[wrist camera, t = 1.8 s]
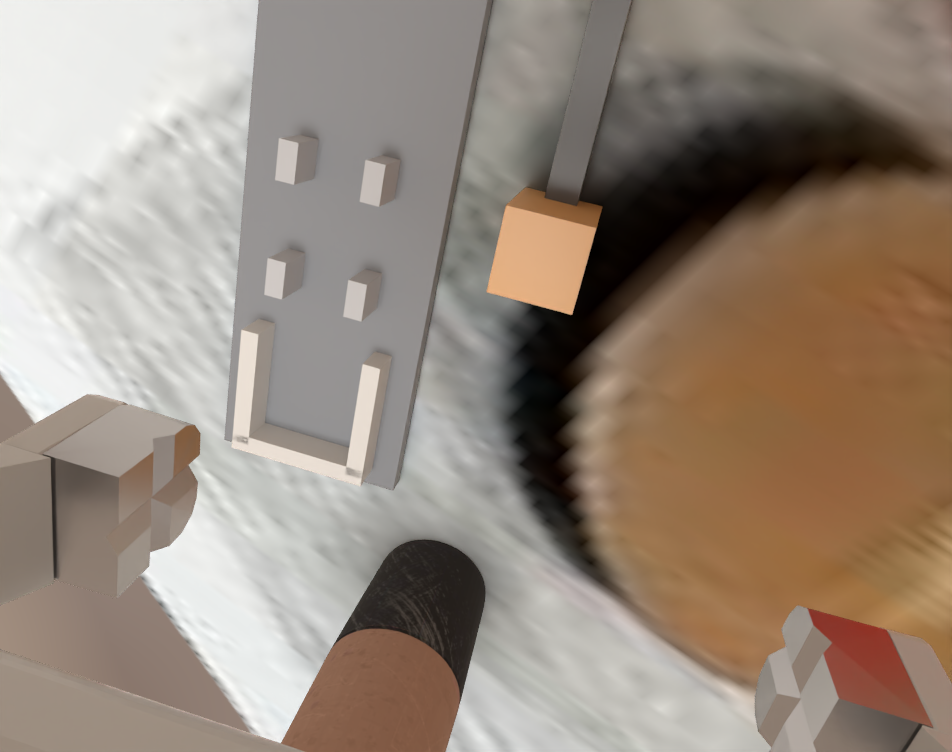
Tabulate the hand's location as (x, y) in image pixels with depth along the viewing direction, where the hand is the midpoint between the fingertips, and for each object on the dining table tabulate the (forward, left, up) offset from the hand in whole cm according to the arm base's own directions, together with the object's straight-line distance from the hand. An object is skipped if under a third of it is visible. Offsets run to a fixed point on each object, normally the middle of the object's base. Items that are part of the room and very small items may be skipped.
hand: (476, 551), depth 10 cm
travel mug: (+4, +26, -30) cm, 40 cm away
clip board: (+13, +5, -30) cm, 33 cm away
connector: (+2, -5, -30) cm, 30 cm away
